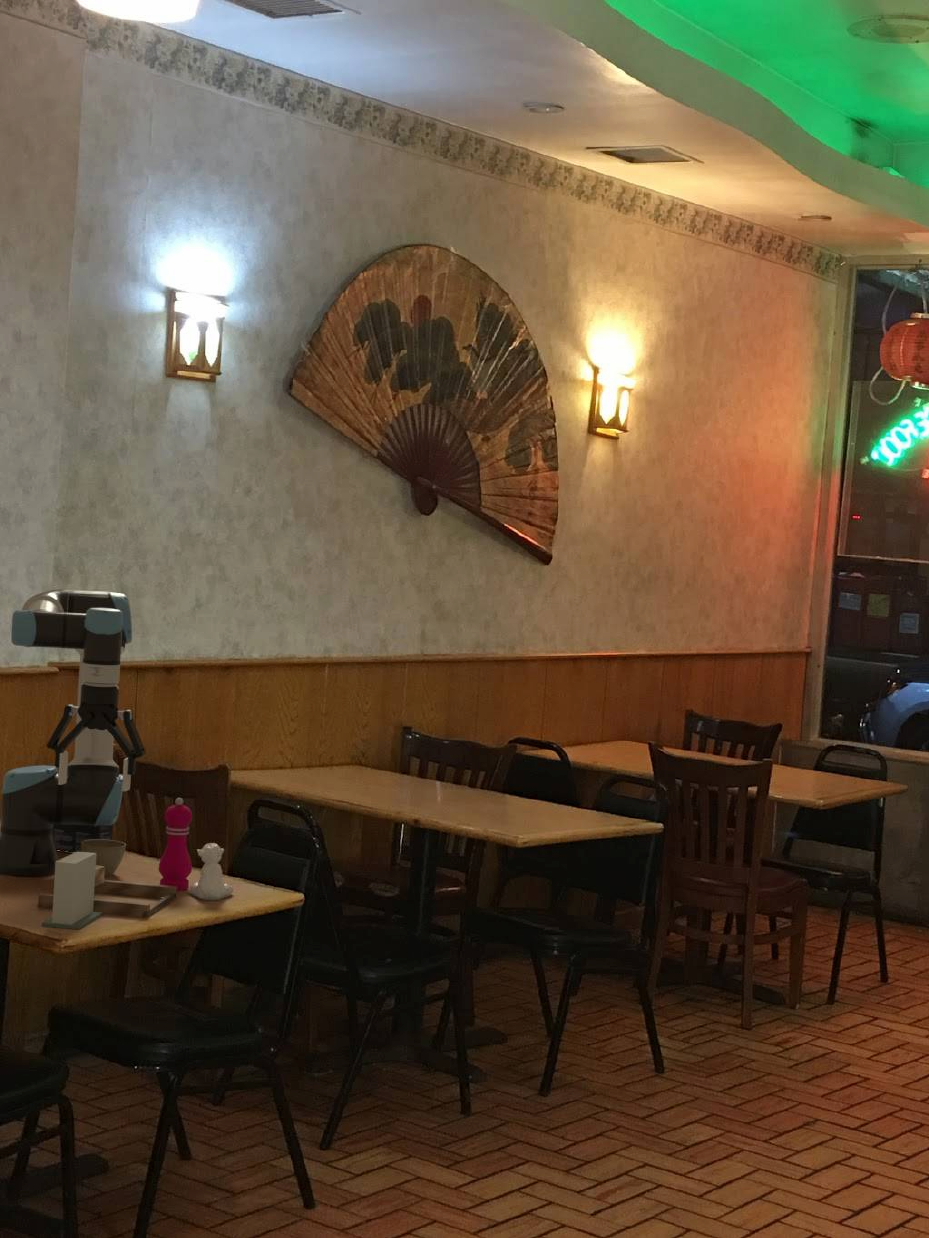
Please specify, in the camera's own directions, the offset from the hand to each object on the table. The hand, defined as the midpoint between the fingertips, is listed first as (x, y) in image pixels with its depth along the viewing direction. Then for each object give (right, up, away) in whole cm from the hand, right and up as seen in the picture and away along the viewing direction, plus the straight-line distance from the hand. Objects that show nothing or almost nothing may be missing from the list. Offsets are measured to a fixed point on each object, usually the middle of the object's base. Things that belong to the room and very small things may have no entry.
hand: (94, 787), depth 339 cm
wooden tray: (+1, -25, +7) cm, 26 cm away
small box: (-17, -22, +61) cm, 66 cm away
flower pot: (-6, -24, +35) cm, 43 cm away
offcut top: (-4, -21, +8) cm, 23 cm away
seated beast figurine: (+21, -26, +19) cm, 38 cm away
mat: (-2, -25, -11) cm, 28 cm away
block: (-2, -25, -11) cm, 27 cm away
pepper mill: (+12, -25, +26) cm, 38 cm away
